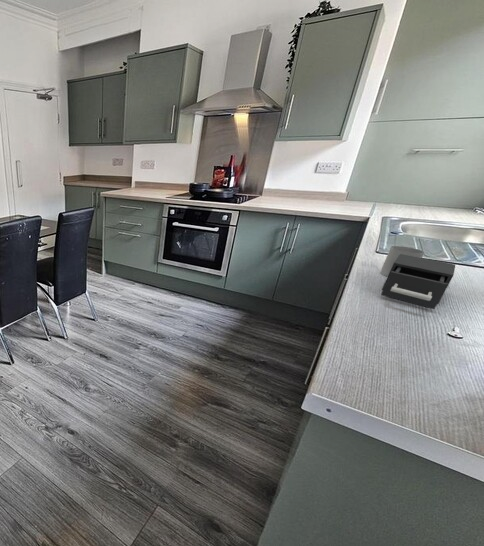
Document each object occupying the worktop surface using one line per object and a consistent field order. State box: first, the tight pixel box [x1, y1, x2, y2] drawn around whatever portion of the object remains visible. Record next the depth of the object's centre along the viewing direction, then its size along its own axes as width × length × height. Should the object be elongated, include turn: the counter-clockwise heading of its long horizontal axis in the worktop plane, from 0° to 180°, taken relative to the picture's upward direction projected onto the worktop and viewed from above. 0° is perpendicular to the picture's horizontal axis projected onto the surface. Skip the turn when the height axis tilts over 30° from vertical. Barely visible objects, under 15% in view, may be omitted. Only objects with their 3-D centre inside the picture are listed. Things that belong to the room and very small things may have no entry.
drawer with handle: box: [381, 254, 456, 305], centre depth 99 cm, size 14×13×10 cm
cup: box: [379, 245, 425, 278], centre depth 111 cm, size 8×8×10 cm
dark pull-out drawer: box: [380, 266, 448, 310], centre depth 93 cm, size 18×11×8 cm, turn 130°
